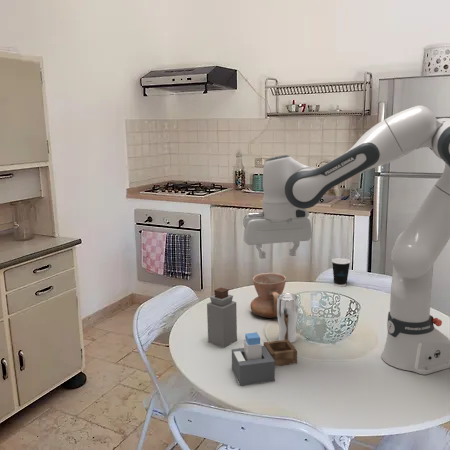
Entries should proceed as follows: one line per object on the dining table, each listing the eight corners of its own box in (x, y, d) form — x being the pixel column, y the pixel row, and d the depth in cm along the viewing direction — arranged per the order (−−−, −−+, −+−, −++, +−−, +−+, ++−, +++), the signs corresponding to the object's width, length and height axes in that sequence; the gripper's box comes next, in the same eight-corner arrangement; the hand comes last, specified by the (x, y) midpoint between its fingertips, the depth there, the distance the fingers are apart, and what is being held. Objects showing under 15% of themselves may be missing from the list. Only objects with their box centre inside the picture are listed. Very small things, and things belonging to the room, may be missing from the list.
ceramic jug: (246, 306, 192) (245, 272, 189) (282, 303, 194) (282, 269, 191) (256, 326, 175) (255, 288, 172) (295, 322, 177) (296, 285, 174)
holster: (288, 351, 155) (288, 339, 154) (297, 363, 147) (297, 350, 147) (263, 354, 153) (263, 342, 153) (271, 366, 146) (271, 354, 145)
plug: (257, 370, 144) (257, 331, 142) (261, 376, 140) (261, 337, 138) (244, 371, 143) (244, 333, 141) (248, 378, 139) (247, 339, 137)
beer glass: (297, 345, 159) (297, 301, 156) (275, 343, 161) (275, 299, 157) (298, 335, 166) (298, 293, 163) (277, 334, 167) (277, 292, 164)
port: (264, 364, 147) (264, 344, 146) (274, 380, 138) (274, 360, 137) (231, 368, 145) (231, 348, 144) (240, 385, 136) (239, 365, 134)
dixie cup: (341, 280, 220) (341, 257, 217) (353, 285, 213) (354, 261, 210) (327, 284, 216) (327, 259, 214) (339, 289, 209) (340, 264, 207)
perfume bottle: (236, 340, 163) (236, 289, 159) (223, 348, 158) (222, 294, 154) (221, 335, 167) (220, 284, 164) (208, 342, 162) (206, 290, 158)
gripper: (246, 215, 140) (246, 262, 143) (314, 211, 144) (313, 257, 147) (240, 211, 146) (241, 256, 149) (306, 207, 150) (305, 251, 153)
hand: (277, 256), depth 148 cm, fingers open, 8 cm apart
